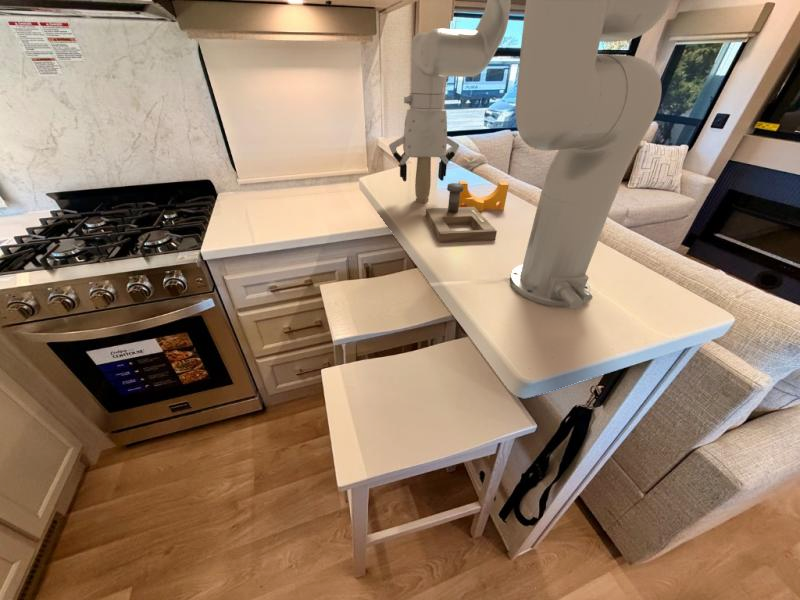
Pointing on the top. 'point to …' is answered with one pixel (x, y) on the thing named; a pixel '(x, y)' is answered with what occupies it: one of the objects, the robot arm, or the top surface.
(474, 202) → the pipe clamp
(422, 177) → the handle
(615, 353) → the top surface
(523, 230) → the top surface
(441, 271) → the top surface
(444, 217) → the plate
